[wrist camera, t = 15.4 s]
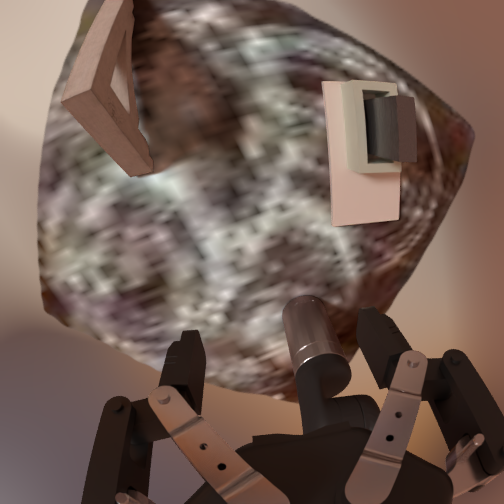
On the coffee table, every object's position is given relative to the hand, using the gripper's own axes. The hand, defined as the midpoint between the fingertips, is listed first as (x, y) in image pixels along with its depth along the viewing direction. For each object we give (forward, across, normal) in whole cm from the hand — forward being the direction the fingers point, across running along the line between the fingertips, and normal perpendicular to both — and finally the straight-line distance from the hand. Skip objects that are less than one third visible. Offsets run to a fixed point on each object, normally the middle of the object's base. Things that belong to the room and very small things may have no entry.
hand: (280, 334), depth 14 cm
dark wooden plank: (+37, -21, -9) cm, 44 cm away
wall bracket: (+39, +19, -24) cm, 49 cm away
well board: (+38, -21, -4) cm, 44 cm away
